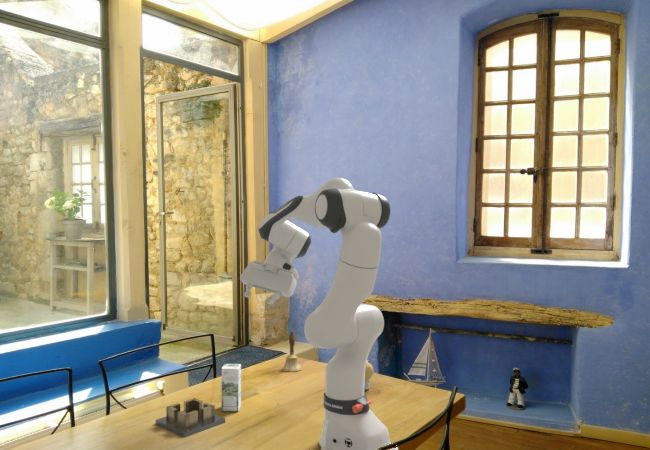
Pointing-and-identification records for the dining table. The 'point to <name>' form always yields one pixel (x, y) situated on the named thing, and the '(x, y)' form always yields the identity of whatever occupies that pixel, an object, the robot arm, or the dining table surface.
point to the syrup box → (231, 387)
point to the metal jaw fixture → (190, 417)
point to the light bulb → (368, 375)
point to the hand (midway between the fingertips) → (257, 300)
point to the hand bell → (291, 357)
